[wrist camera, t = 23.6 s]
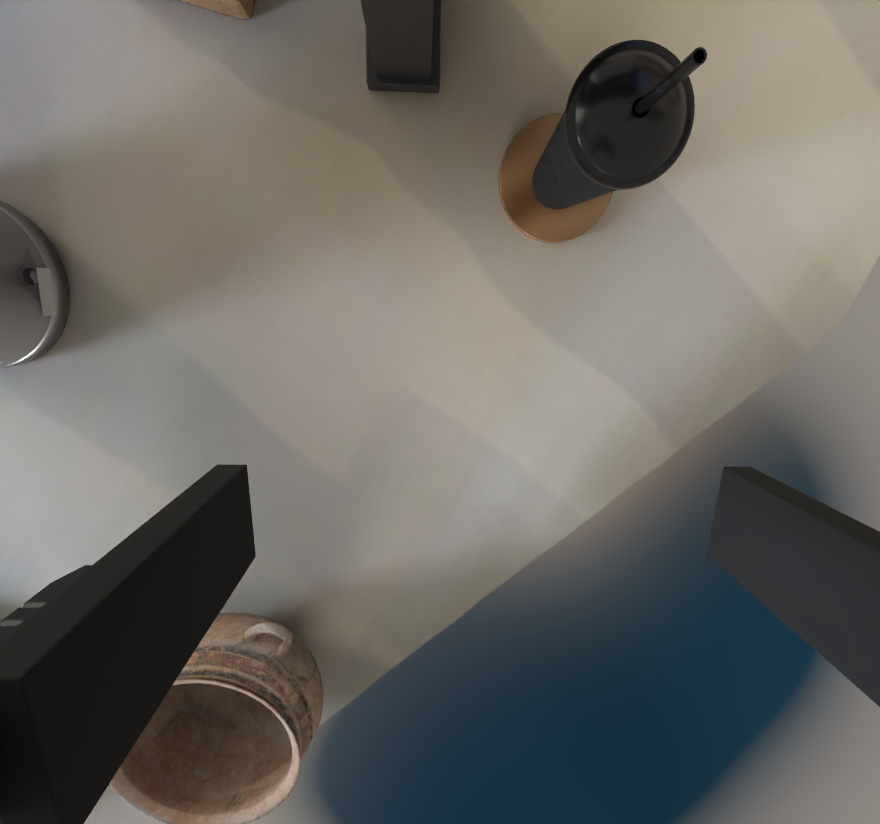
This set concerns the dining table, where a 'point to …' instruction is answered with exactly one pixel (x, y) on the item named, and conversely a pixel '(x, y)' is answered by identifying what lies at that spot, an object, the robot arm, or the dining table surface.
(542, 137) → the coaster
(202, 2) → the candle holder
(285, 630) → the cooking pot
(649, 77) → the drinking cup
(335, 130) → the dining table surface
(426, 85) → the coffee maker
